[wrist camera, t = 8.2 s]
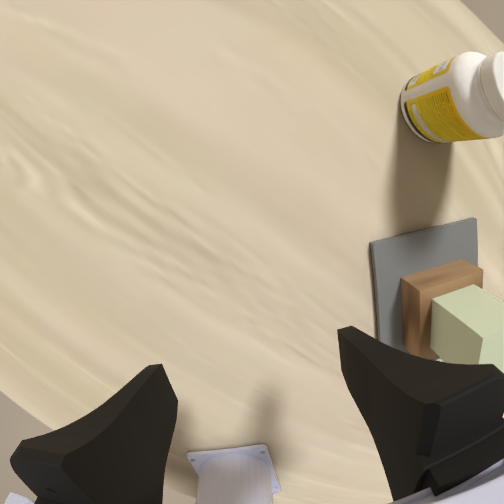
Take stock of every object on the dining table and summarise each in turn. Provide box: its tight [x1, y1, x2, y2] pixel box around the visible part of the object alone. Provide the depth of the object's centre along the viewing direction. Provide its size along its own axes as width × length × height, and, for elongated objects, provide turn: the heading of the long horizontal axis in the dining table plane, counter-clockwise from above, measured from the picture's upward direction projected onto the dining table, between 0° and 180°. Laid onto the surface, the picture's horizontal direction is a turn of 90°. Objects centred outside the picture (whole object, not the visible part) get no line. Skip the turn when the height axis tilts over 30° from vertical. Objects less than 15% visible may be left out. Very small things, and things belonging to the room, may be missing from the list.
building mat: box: [370, 218, 478, 360], centre depth 22 cm, size 12×10×1 cm
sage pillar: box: [430, 284, 504, 373], centre depth 16 cm, size 4×4×6 cm
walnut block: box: [401, 259, 483, 359], centre depth 21 cm, size 6×6×3 cm
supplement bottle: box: [401, 52, 504, 143], centre depth 14 cm, size 5×5×10 cm
